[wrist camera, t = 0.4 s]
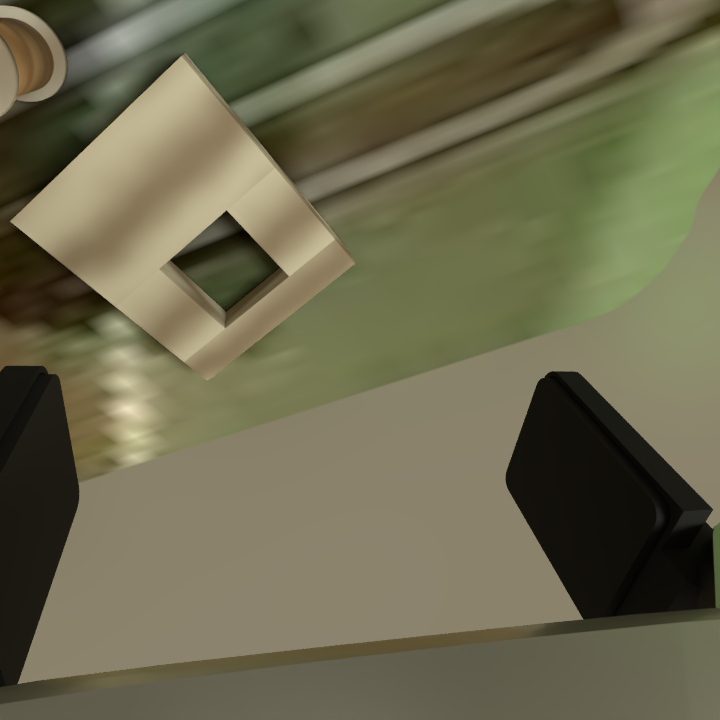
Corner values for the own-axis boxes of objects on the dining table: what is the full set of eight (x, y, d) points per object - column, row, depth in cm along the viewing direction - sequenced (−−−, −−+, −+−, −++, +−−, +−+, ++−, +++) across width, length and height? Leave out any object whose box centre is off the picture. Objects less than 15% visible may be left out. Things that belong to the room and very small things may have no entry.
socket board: (24, 208, 39) (10, 221, 36) (185, 53, 36) (181, 55, 33) (208, 362, 48) (207, 381, 46) (348, 250, 45) (355, 263, 43)
